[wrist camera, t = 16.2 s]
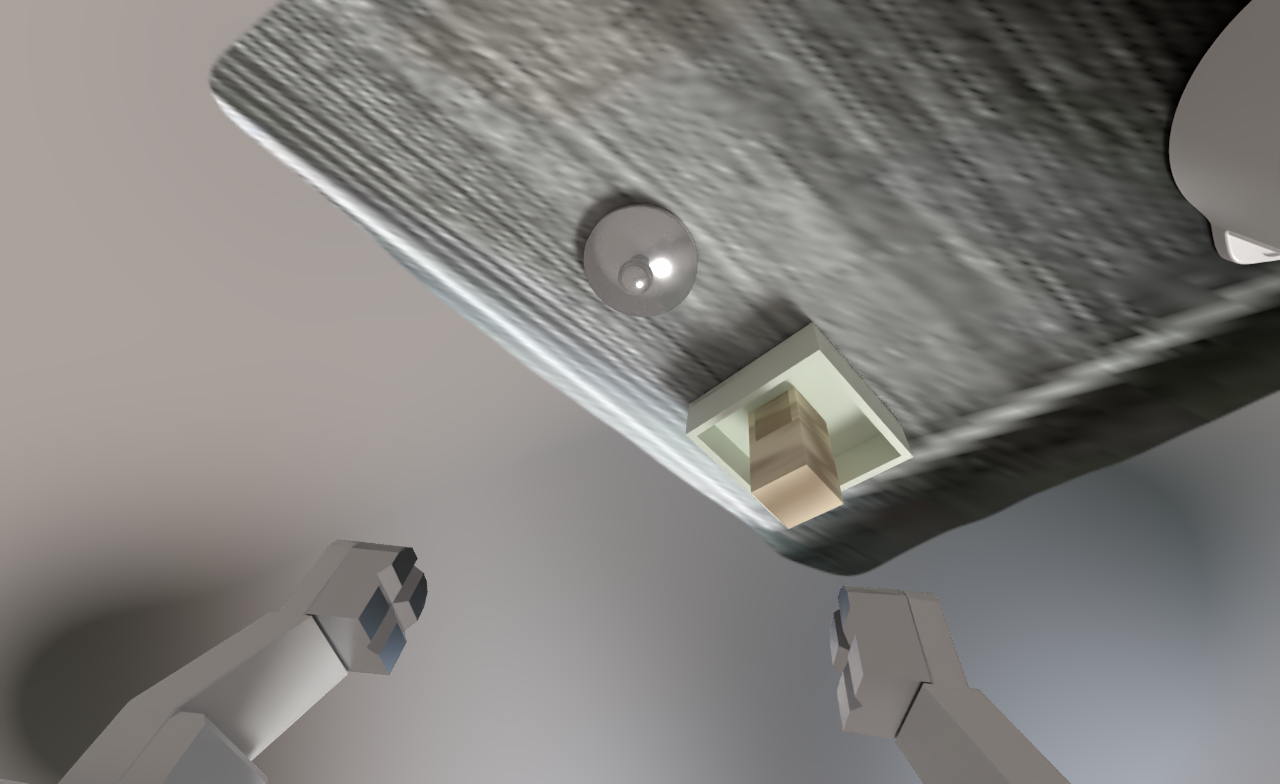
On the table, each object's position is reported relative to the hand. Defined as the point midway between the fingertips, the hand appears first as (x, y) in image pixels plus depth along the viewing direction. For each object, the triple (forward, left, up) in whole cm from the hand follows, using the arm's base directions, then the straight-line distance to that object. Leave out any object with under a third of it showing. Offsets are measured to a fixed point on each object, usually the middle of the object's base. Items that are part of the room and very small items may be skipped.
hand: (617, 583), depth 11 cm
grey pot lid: (+4, +6, -31) cm, 32 cm away
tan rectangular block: (-8, +19, -30) cm, 37 cm away
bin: (-8, +19, -31) cm, 37 cm away
